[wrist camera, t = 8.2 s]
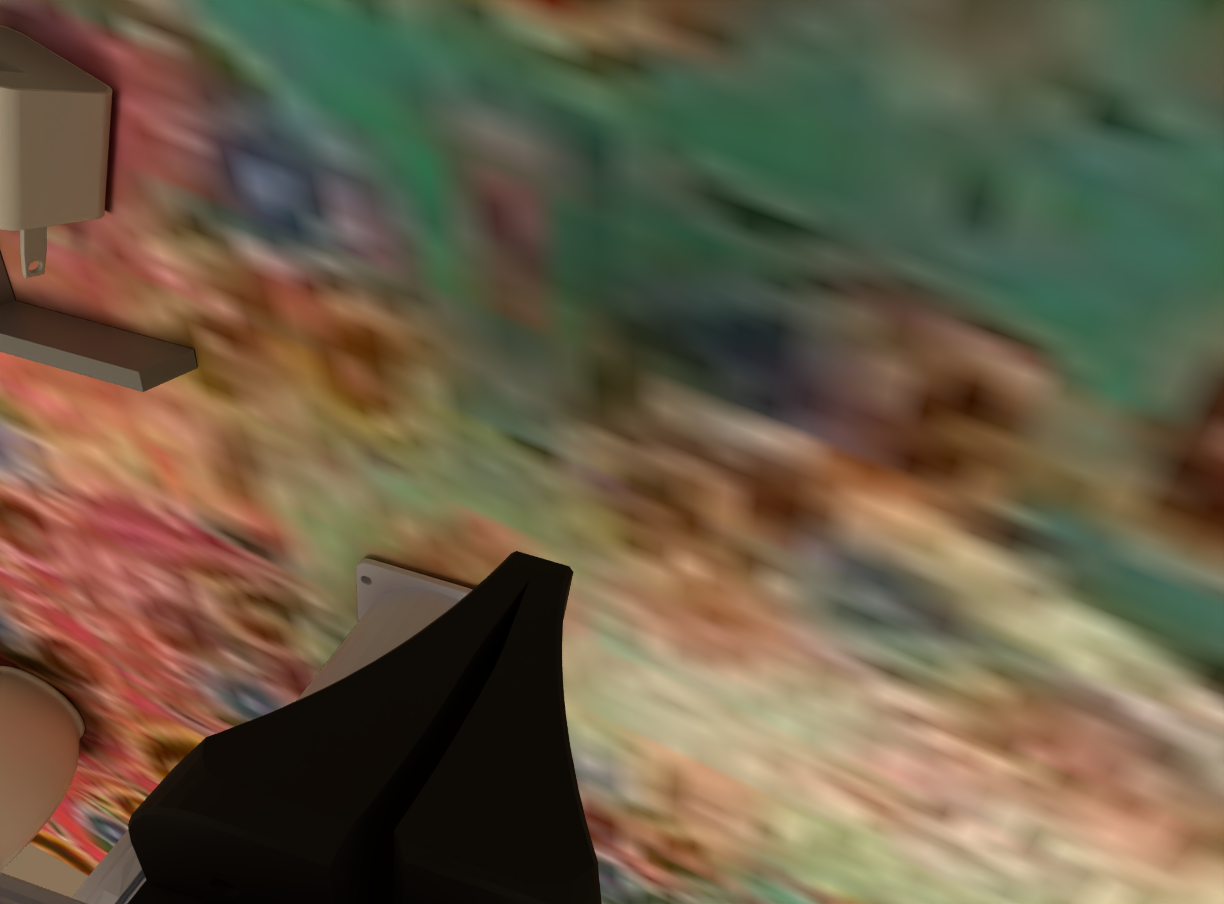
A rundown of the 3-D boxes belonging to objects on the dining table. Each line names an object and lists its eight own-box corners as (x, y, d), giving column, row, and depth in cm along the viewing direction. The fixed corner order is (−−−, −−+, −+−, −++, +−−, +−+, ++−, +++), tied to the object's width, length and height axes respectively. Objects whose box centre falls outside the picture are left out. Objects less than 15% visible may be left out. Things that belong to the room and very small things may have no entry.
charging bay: (197, 368, 24) (143, 391, 22) (4, 314, 25) (-67, 332, 23) (122, -63, 17) (34, -89, 15) (-141, -119, 18) (-260, -152, 16)
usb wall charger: (124, 94, 20) (-9, 89, 16) (110, 278, 23) (-1, 305, 20) (9, 24, 19) (-151, 3, 16) (13, 221, 23) (-118, 238, 19)
